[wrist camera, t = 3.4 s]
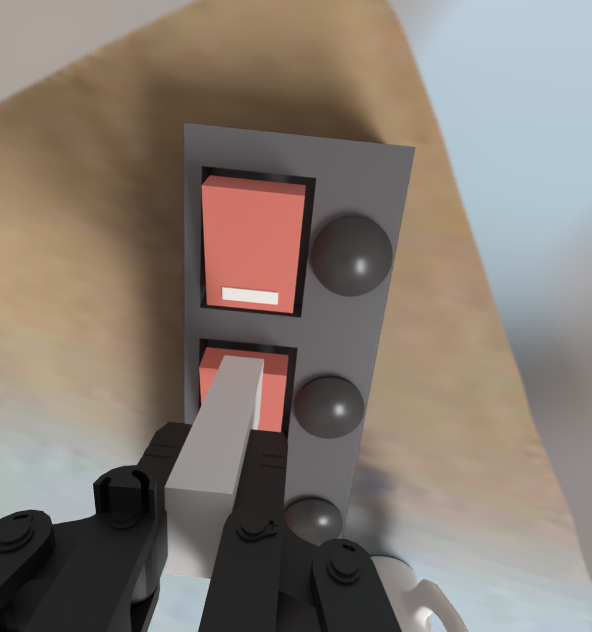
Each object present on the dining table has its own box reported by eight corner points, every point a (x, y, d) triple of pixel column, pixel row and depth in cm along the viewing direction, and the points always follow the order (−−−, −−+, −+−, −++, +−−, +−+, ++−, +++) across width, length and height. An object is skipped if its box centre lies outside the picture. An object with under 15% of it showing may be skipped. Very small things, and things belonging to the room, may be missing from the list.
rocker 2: (210, 422, 21) (203, 445, 20) (206, 347, 18) (198, 368, 17) (280, 429, 21) (278, 452, 20) (288, 355, 18) (286, 376, 17)
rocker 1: (213, 288, 18) (206, 305, 17) (210, 175, 15) (201, 185, 14) (294, 296, 18) (292, 313, 17) (305, 185, 15) (305, 196, 14)
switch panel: (199, 626, 32) (183, 698, 27) (209, 133, 19) (181, 121, 15) (310, 636, 32) (311, 709, 27) (392, 152, 19) (417, 146, 15)
